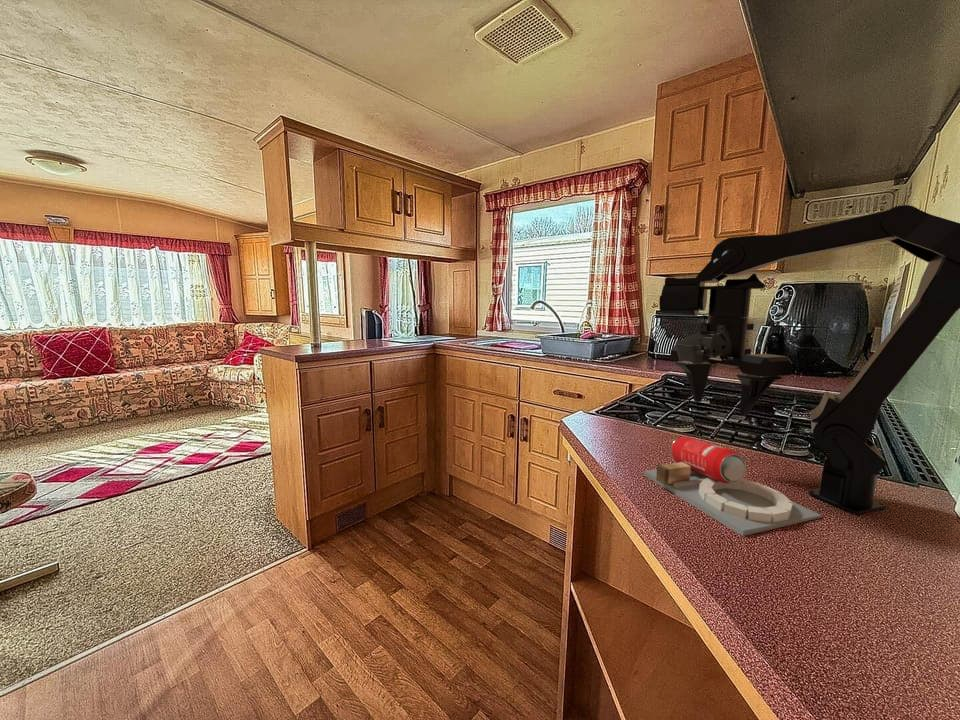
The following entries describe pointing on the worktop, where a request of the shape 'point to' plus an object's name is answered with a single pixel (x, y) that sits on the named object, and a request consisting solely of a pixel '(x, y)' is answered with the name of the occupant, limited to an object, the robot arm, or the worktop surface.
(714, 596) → the worktop surface
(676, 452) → the beverage can
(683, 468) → the bar
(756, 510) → the dock board
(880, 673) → the worktop surface
